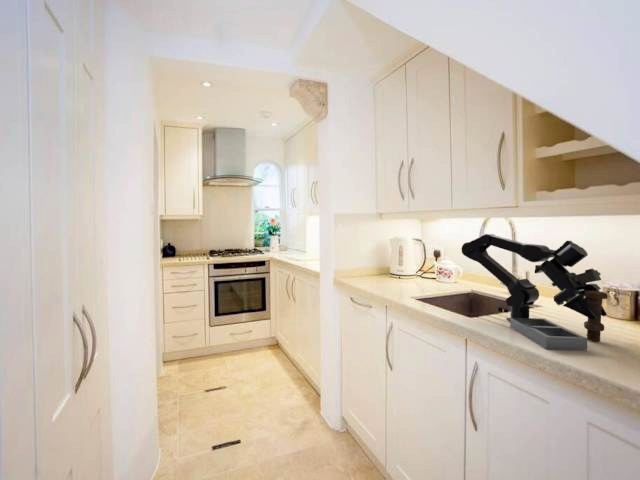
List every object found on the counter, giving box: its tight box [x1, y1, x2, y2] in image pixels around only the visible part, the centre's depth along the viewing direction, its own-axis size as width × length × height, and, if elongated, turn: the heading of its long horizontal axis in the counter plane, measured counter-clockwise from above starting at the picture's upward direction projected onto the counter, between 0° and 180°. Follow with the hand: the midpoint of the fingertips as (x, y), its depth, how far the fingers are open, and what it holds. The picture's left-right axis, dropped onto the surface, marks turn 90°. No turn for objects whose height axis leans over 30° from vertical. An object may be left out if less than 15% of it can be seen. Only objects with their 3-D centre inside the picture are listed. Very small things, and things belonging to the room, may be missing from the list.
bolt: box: [583, 290, 608, 343], centre depth 99 cm, size 6×5×15 cm
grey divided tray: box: [510, 317, 589, 352], centre depth 101 cm, size 20×11×4 cm, turn 175°
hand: (600, 317), depth 98 cm, fingers open, 7 cm apart
